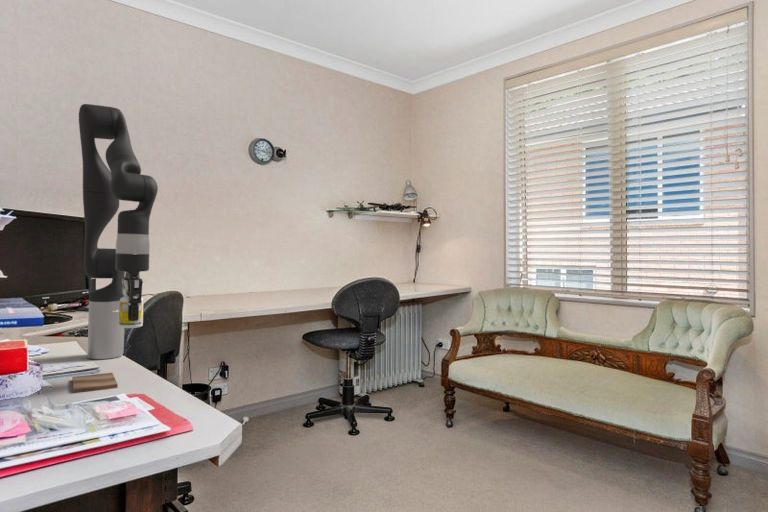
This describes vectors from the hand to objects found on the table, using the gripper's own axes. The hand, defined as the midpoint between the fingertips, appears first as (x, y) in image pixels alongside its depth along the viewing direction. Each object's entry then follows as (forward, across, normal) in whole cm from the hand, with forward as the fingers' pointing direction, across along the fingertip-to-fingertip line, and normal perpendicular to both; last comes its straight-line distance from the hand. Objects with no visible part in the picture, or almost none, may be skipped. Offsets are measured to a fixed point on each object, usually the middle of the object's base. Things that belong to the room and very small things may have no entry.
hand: (131, 318), depth 118 cm
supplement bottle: (+2, 0, 0) cm, 2 cm away
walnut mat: (+15, 0, -8) cm, 17 cm away
